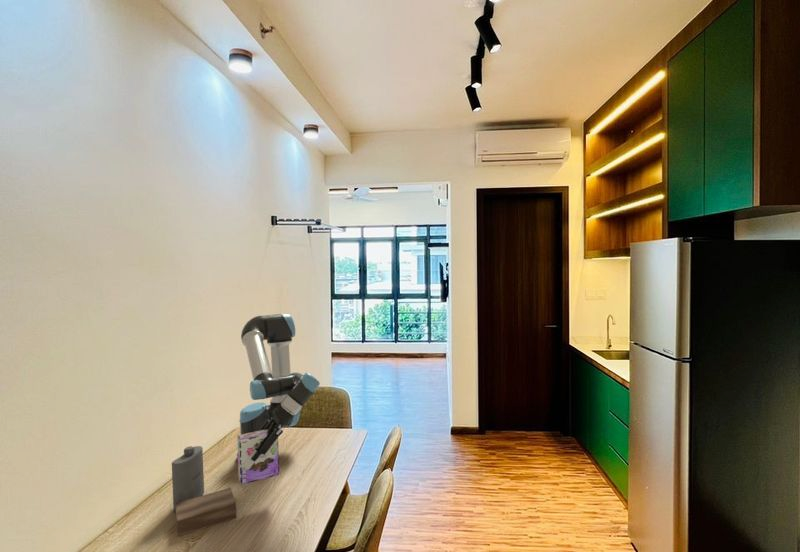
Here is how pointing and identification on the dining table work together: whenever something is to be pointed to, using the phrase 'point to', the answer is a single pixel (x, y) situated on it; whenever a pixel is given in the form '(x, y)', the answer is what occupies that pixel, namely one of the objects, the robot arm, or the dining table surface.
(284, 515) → the dining table surface
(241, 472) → the candy box
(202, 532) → the dining table surface
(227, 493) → the walnut plinth
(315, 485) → the dining table surface
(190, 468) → the flask
